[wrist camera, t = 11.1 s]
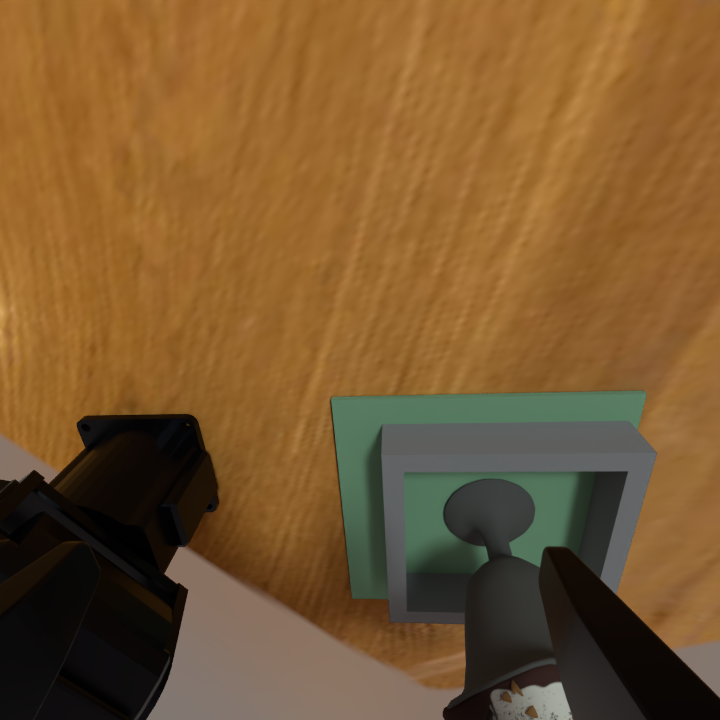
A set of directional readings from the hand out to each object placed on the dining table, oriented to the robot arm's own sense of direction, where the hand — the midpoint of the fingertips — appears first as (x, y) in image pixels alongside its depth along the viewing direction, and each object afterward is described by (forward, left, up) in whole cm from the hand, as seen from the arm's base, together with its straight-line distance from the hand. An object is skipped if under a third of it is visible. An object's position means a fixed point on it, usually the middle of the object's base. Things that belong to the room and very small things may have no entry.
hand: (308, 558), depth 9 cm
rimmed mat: (+7, -12, -13) cm, 19 cm away
